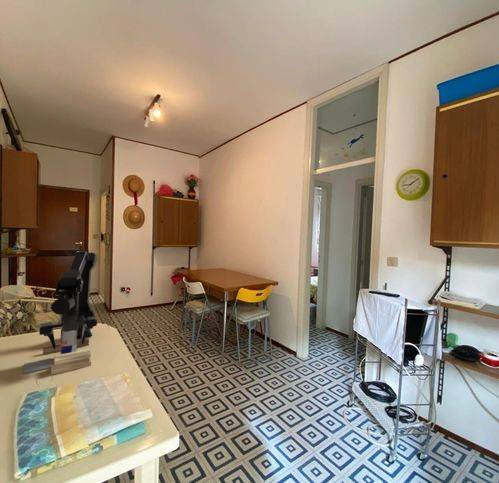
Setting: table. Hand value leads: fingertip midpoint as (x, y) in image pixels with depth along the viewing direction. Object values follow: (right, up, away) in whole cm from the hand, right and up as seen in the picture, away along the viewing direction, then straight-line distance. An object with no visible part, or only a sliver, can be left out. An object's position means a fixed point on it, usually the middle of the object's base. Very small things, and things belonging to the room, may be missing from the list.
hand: (68, 346), depth 106 cm
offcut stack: (+6, -5, -7) cm, 11 cm away
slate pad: (-6, -4, -8) cm, 11 cm away
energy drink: (0, -5, 0) cm, 5 cm away
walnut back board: (-5, -4, +7) cm, 9 cm away
